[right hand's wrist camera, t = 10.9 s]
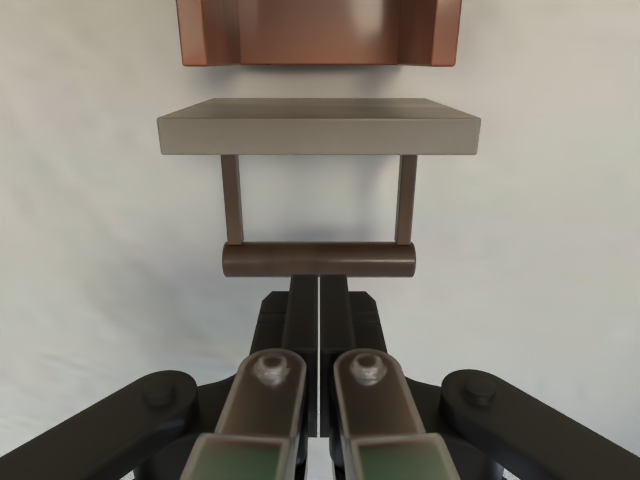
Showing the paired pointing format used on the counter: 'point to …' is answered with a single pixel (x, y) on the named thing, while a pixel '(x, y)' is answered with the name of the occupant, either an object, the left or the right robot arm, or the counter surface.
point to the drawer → (319, 112)
